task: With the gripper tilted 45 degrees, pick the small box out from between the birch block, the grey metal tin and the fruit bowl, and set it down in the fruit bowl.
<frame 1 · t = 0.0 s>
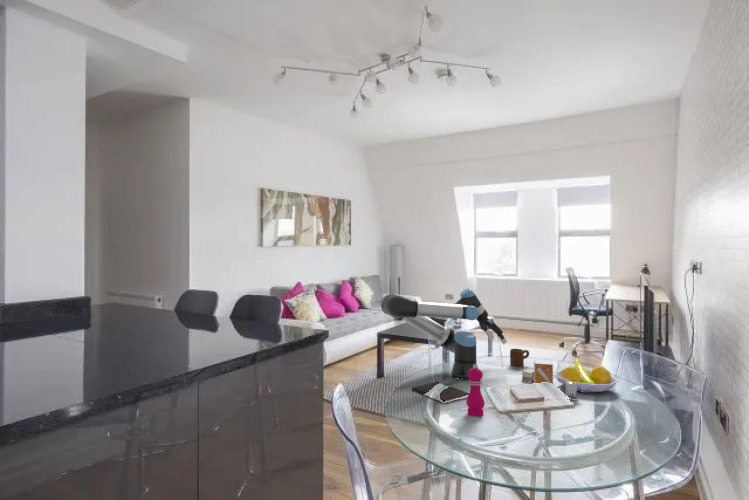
hand: (498, 340, 245), 15 cm above the table, tool tilted 35°, fingers open, 13 cm apart
mug: (520, 365, 248), on the table
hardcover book: (440, 395, 195), on the table
pepper mill: (475, 414, 170), on the table
fruit bowl: (585, 388, 204), on the table
birch block: (529, 380, 217), on the table
grey metal tin: (571, 398, 188), on the table
small box: (543, 389, 202), on the table
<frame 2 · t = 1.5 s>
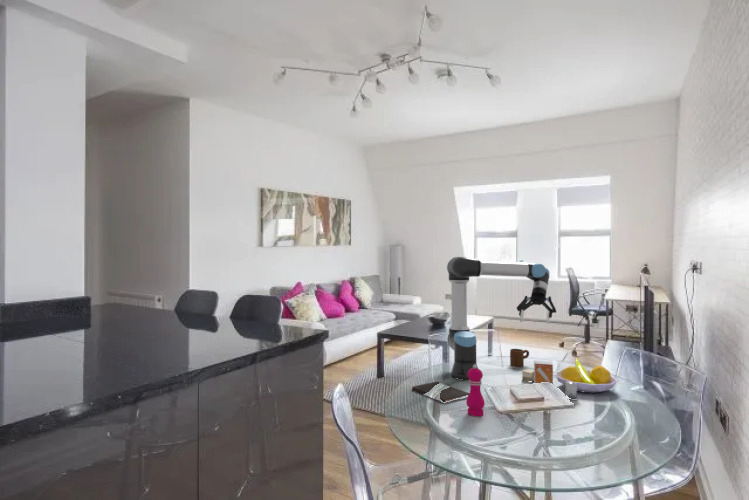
hand: (533, 321, 221), 30 cm above the table, tool tilted 45°, fingers open, 13 cm apart
nothing on the table moved.
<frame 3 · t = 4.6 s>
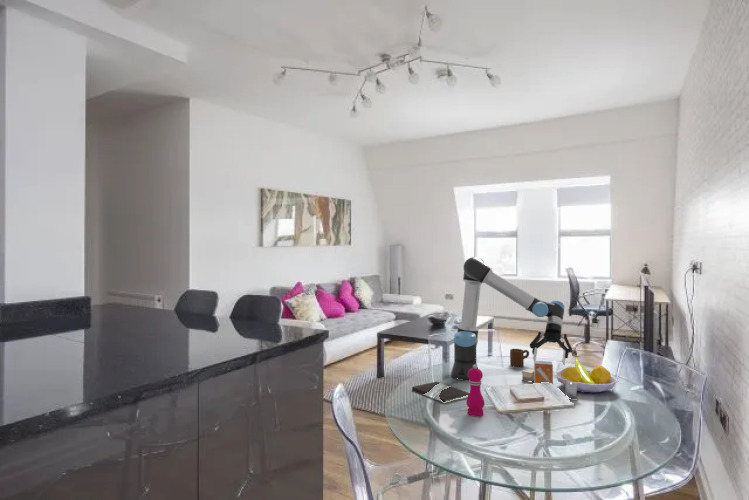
hand: (548, 361, 206), 12 cm above the table, tool tilted 45°, fingers open, 13 cm apart
nothing on the table moved.
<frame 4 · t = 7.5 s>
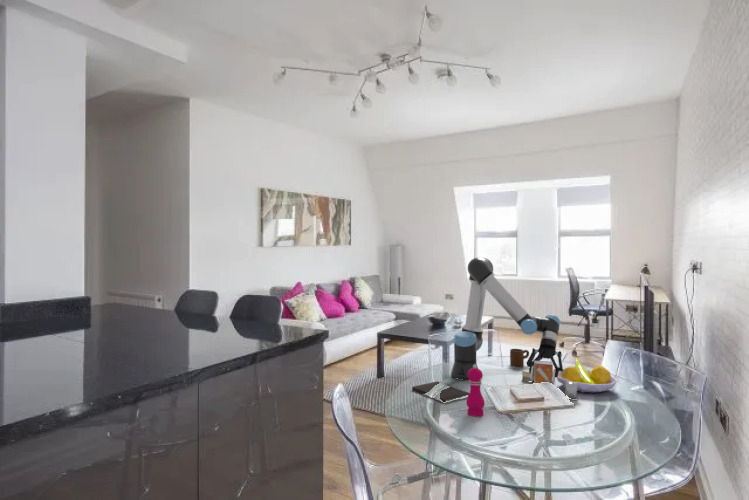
hand: (541, 380, 199), 5 cm above the table, tool tilted 45°, fingers closed on small box, 9 cm apart
small box: (543, 389, 202), on the table, touching gripper
everything else where it was.
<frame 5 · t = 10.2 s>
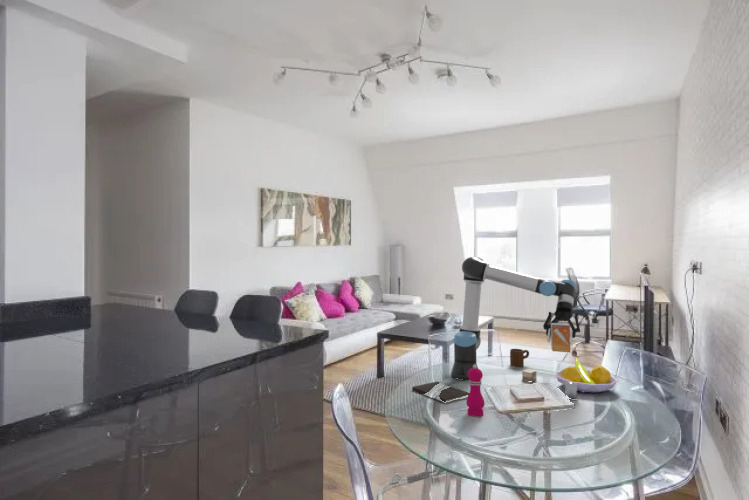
hand: (559, 341, 200), 23 cm above the table, tool tilted 45°, fingers closed on small box, 9 cm apart
small box: (560, 351, 202), point 18 cm above the table, touching gripper
everything else where it was.
when the fingers open (18 cm above the table, at t = 12.8 s): small box drops 2 cm, resting on fruit bowl.
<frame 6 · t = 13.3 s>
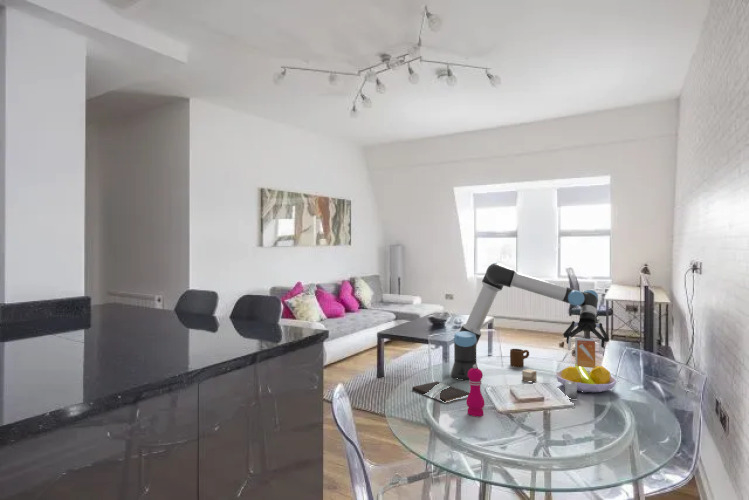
hand: (584, 350, 202), 19 cm above the table, tool tilted 45°, fingers open, 13 cm apart
fruit bowl: (585, 388, 204), on the table, touching small box
small box: (585, 366, 204), point 11 cm above the table, touching fruit bowl
everything else where it was.
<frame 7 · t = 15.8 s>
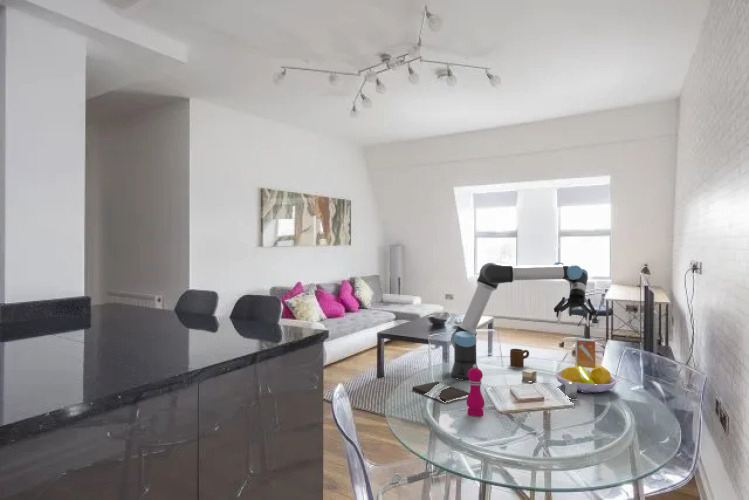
hand: (572, 323, 214), 30 cm above the table, tool tilted 45°, fingers open, 13 cm apart
nothing on the table moved.
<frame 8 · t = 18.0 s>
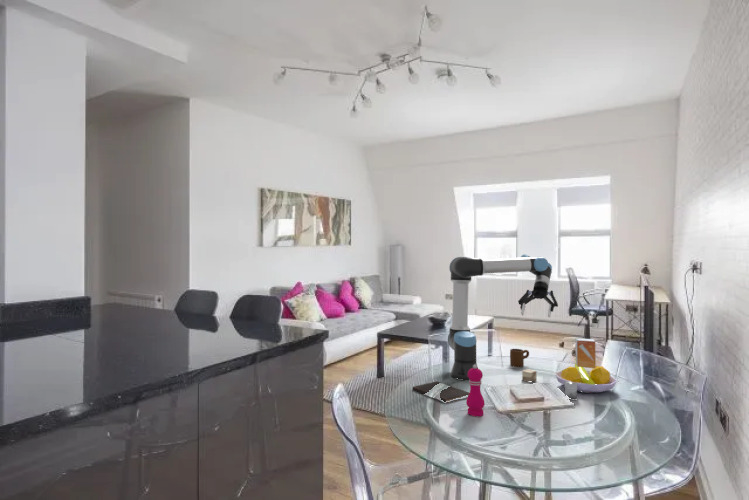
hand: (535, 314, 221), 34 cm above the table, tool tilted 45°, fingers open, 13 cm apart
nothing on the table moved.
at the end: small box 0.5 cm from the fruit bowl (horizontally); small box moved 23.7 cm from its start; the gripper is holding nothing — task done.
